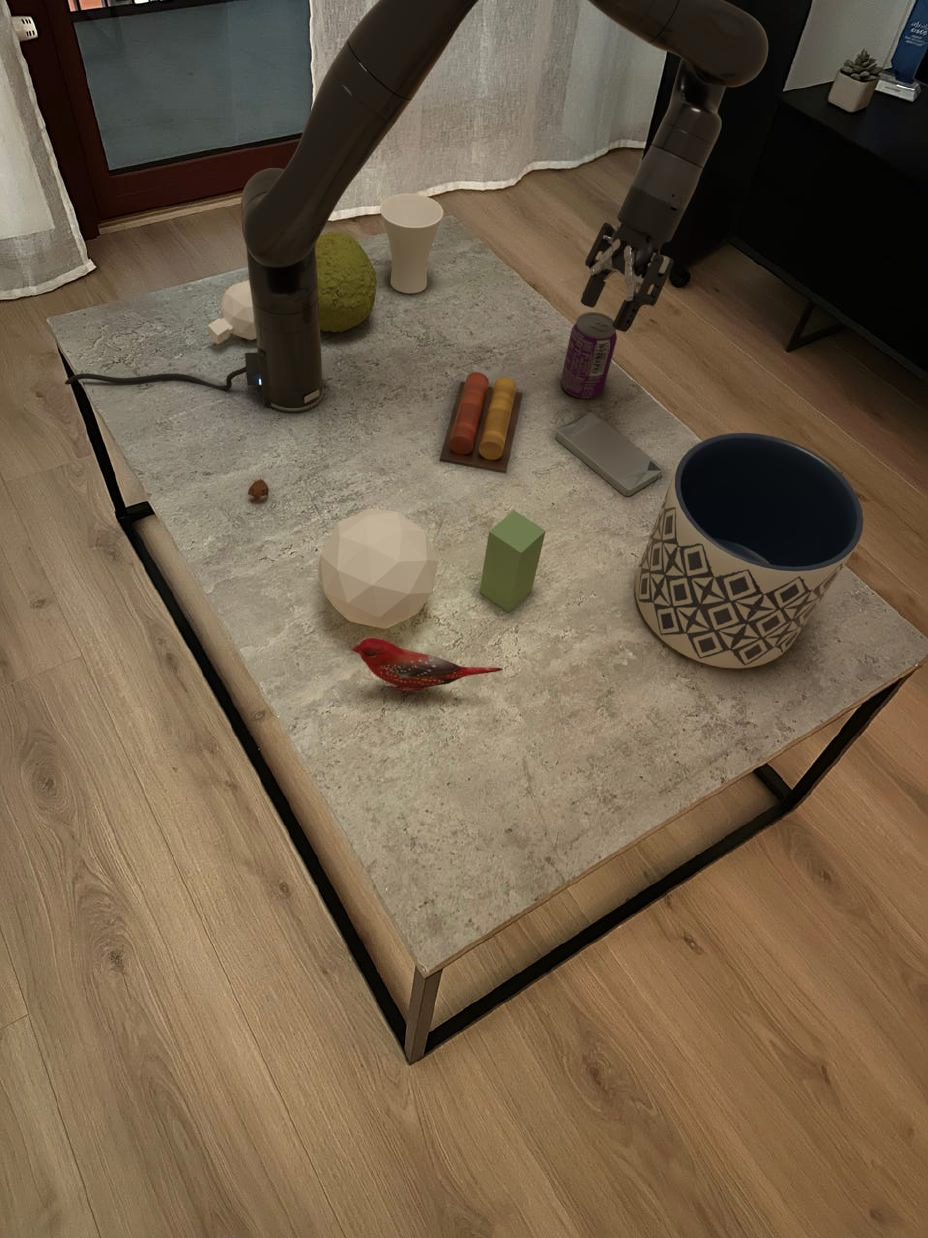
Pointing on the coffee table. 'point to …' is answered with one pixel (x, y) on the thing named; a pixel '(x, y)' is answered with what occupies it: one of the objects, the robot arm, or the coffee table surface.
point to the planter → (745, 548)
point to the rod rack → (482, 423)
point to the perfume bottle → (235, 314)
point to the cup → (410, 238)
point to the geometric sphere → (377, 568)
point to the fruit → (343, 282)
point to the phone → (609, 453)
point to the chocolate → (258, 489)
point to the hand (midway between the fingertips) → (602, 317)
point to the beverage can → (589, 355)
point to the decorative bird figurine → (411, 666)
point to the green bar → (511, 560)
